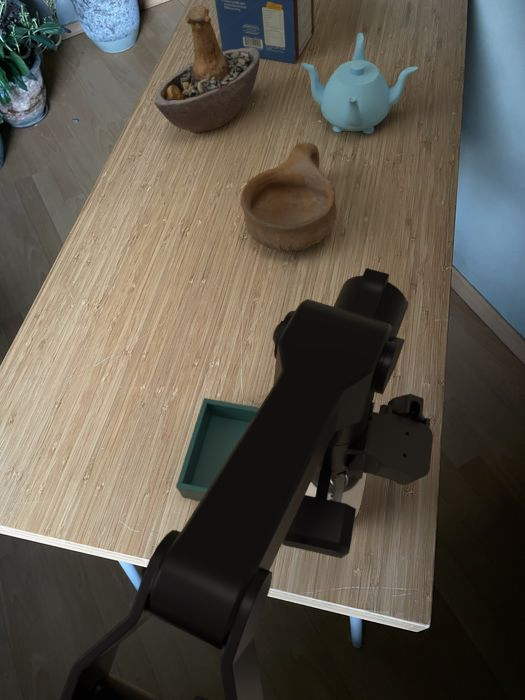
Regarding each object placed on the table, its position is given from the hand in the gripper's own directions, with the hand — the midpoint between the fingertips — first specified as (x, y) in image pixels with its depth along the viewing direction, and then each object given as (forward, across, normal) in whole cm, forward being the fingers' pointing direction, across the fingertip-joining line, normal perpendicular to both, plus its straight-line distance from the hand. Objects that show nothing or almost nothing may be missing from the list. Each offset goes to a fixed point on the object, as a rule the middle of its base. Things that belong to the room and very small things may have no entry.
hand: (329, 476), depth 61 cm
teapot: (+7, +65, +7) cm, 66 cm away
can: (+7, 0, 0) cm, 7 cm away
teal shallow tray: (+7, +2, +11) cm, 13 cm away
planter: (+7, +62, +31) cm, 70 cm away
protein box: (+7, +85, +27) cm, 90 cm away
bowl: (+7, +41, +13) cm, 44 cm away
